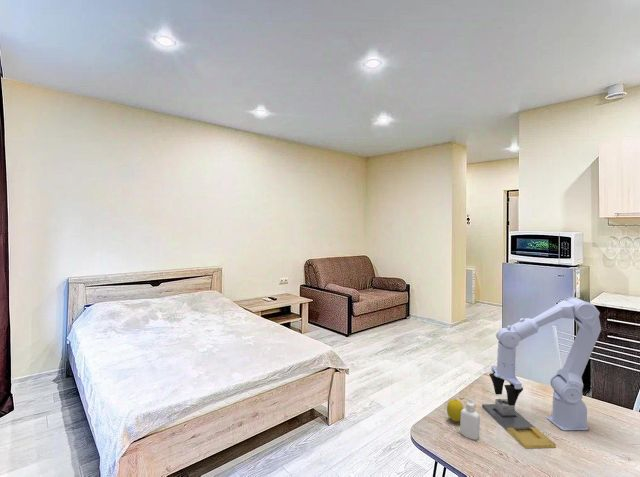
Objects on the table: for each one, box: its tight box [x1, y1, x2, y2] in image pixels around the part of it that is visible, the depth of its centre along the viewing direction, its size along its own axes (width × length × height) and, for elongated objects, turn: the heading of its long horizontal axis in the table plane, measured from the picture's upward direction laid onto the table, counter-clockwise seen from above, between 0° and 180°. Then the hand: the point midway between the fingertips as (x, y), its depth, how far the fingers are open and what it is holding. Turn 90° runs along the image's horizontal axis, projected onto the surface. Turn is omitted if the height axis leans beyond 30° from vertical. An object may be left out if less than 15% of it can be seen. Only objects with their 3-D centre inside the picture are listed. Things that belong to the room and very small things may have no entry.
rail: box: [481, 403, 557, 449], centre depth 115 cm, size 10×24×1 cm, turn 4°
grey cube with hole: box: [494, 398, 516, 418], centre depth 121 cm, size 4×4×5 cm
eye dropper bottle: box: [459, 398, 481, 441], centre depth 109 cm, size 4×6×12 cm
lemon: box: [446, 398, 465, 423], centre depth 117 cm, size 6×6×8 cm
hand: (504, 399), depth 121 cm, fingers open, 7 cm apart
